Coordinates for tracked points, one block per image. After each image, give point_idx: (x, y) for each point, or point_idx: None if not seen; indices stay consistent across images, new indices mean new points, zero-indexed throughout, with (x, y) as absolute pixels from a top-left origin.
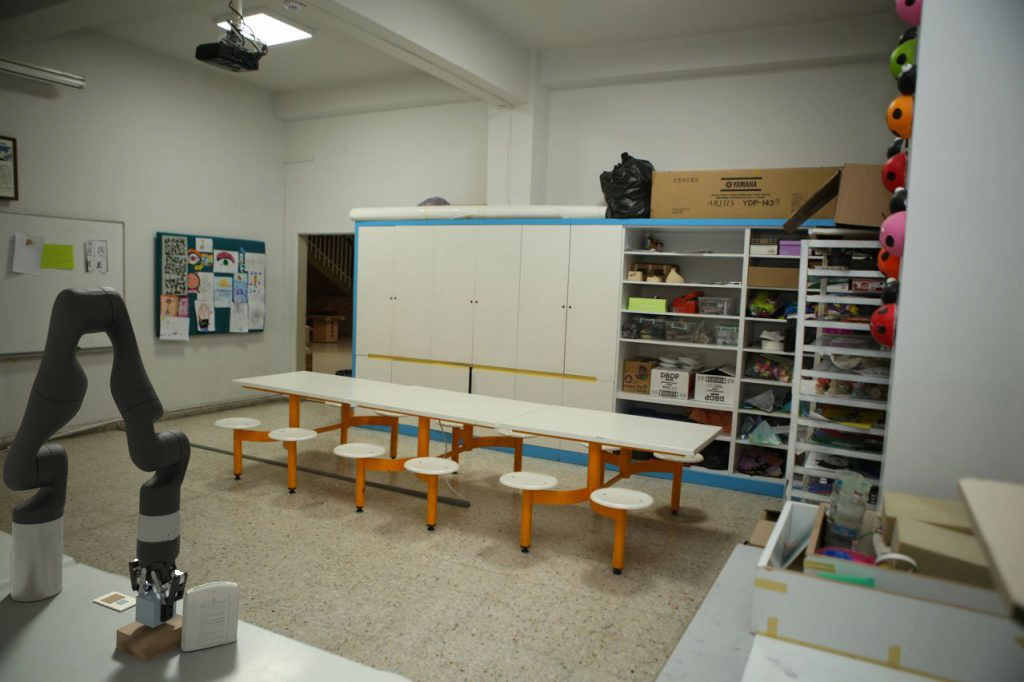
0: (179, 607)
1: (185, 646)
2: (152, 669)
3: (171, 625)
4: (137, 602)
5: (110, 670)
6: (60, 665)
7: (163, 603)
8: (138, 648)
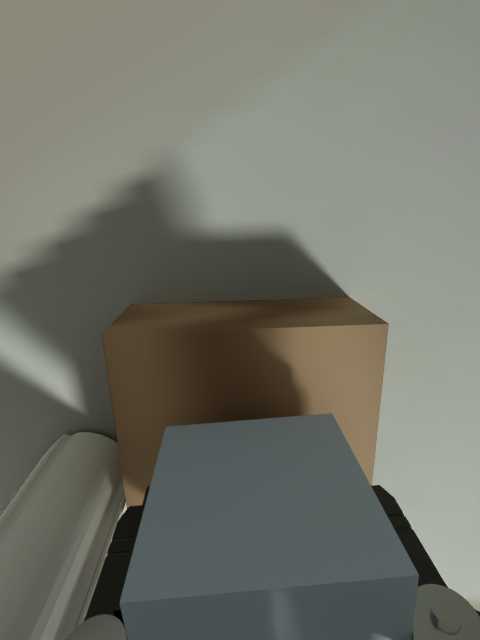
0: None
1: (53, 446)
2: (51, 283)
3: None
4: (369, 522)
5: (195, 170)
6: (442, 52)
7: (94, 631)
8: (187, 315)
